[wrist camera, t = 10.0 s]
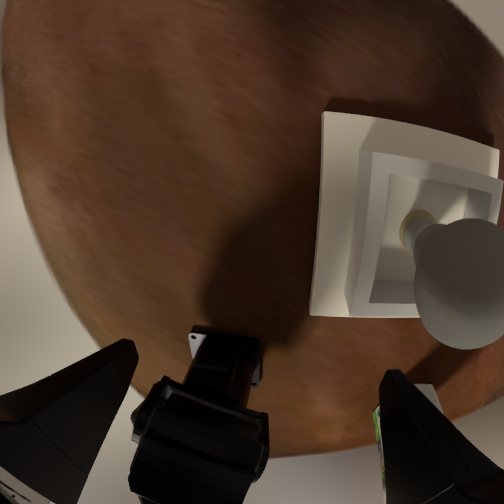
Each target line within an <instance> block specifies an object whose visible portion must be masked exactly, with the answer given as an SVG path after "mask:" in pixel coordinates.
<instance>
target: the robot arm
mask: <svg viewBox="0 0 504 504" xmlns="http://www.w3.org/2000/svg"><path fill="white" fill-rule="evenodd" d="M193 335H194V336H193ZM195 336H196V337H195ZM188 337H189V342H190V347H191V353H192V358H193V361H192V363H191V365H190V367H189V369H188V371H187V374H186V376H185V378H184V380H183V382H182V384H180V383H178V382H176V381H174V380H171V378H169V377H167V376H165V375H164V376H163V378H162V379H161V381H160V382H159V381H158V382H157V384H154V385H153V387H152V388H151V390H150V392H149V394H148V396H147V397H146V398H145V400H144V401H143V402H142V403H141V404H140V405H139V406H138V407H137V408H136V409H135V410H134V411H133V413H132V415H131V421H132V423H133V434H132V441H134V442H136V443H138V447H137V450H136V453H135V455H134V458H133V461H132V463H131V466H130V474H129V477H128V482H129V486H130V490H131V492H132V493H134V494H136V495H138V497H139V500H140V502H141V504H242V503H243V501H244V498H245V496H246V493H247V491H248V489H249V487H250V485H251V483H254V482H256V481H257V480H258V479H259V478H260V476H261V475H262V473H263V471H264V469H265V467H266V464H267V461H268V457H269V448H270V446H269V421H268V414H267V413H264V412H261V413H260V412H257V411H254V410H250V409H247V403H248V399H249V394H250V389H251V387H258V386H259V382H260V347H261V342H260V340H259V339H257V338H252V337H242V336H233V335H225V334H217V333H209V332H202V331H195V330H192V331H191V332H190V333H189V336H188ZM253 343H256V344H253ZM138 360H139V356H138V353H137V350H136V346H135V343H134V342H133V341H132V340H129V339H125V338H123V339H121V340H119V341H117V342H115V343H113V344H111V345H109V346H107V347H105V348H103V349H101V350H99V351H97V352H95V353H93V354H91V355H90V356H88V357H86V358H84V359H82V360H80V361H78V362H76V363H74V364H72V365H70V366H68V367H66V368H64V369H62V370H60V371H58V372H56V373H54V374H52V375H51V376H48V377H46V378H44V379H41V380H39V381H37V382H35V383H33V384H31V385H28V386H25V387H23V388H20V389H17V390H15V391H12V392H9V393H6V394H3V395H0V504H49V503H50V501H52V502H54V503H55V504H77V502H78V499H79V497H80V495H81V492H82V490H83V487H84V485H85V482H86V480H87V478H88V475H89V473H90V470H91V468H92V466H93V464H94V461H95V459H96V457H97V455H98V452H99V450H100V447H101V446H102V444H103V441H104V439H105V437H106V435H107V432H108V431H109V429H110V426H111V424H112V422H113V420H114V418H115V416H116V414H117V412H118V410H119V407H120V406H121V404H122V401H123V400H124V397H125V395H126V393H127V391H128V388H129V385H130V383H131V380H132V377H133V374H134V372H135V369H136V366H137V364H138ZM379 405H380V431H381V439H382V448H383V459H384V470H385V486H386V504H504V470H503V469H501V468H500V467H498V466H497V465H496V464H495V463H494V462H492V461H491V460H490V459H489V458H488V457H486V456H485V455H484V454H483V453H482V452H481V451H479V450H478V449H477V448H476V447H475V446H474V445H473V444H472V443H471V442H470V441H469V440H468V439H466V437H465V436H464V435H463V434H462V433H461V432H460V431H459V430H458V429H457V430H456V427H455V426H454V425H453V424H452V423H451V422H450V421H449V420H448V419H447V418H446V417H445V416H444V414H443V413H442V412H441V411H440V410H439V409H438V408H437V407H436V406H435V405H434V404H433V403H432V402H431V401H430V400H429V399H428V398H427V397H426V396H425V395H424V394H423V393H422V392H421V391H420V390H419V389H418V388H417V387H416V386H415V385H414V384H413V383H412V382H411V381H410V380H409V379H408V378H407V377H406V376H405V375H404V374H403V373H402V371H401V370H399V369H388V370H387V371H386V373H385V375H384V377H383V379H382V381H381V383H380V386H379Z"/></svg>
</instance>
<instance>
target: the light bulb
mask: <svg viewBox="0 0 504 504" xmlns="http://www.w3.org/2000/svg"><path fill="white" fill-rule="evenodd" d="M403 244H404V246H405V248H406V249H407V250H408V252H409V253H410V254H411V255H412V256H413V259H414V264H415V266H416V271H415V277H414V297H415V302H416V307H417V311H418V314H419V316H420V318H421V321H422V323H423V324H424V326H425V328H426V330H427V331H428V332H429V333H430V334H431V335H432V336H433V337H434V338H435V339H437V340H438V341H440V342H442V343H443V344H445V345H447V346H450V347H453V348H458V349H477V348H480V347H484V346H486V345H489V344H491V343H493V342H494V341H496V340H497V339H499V338H500V337H501V336H502V335H503V334H504V230H503V229H502V228H501V227H499V226H498V225H496V224H494V223H492V222H489V221H486V220H483V219H478V218H464V219H460V220H456V221H454V222H452V223H449V224H447V225H446V224H435V223H434V222H433V221H431V220H430V219H428V218H426V217H418V218H415V219H413V220H412V221H410V222H409V223H408V224H407V226H406V227H405V229H404V232H403Z"/></svg>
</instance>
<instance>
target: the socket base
mask: <svg viewBox="0 0 504 504" xmlns="http://www.w3.org/2000/svg"><path fill="white" fill-rule="evenodd" d="M498 165H499V150H497V149H495V148H492V147H490V146H487V145H484V144H481V143H478V142H475V141H472V140H469V139H466V138H463V137H460V136H457V135H453V134H450V133H446V132H443V131H439V130H435V129H431V128H427V127H423V126H418V125H414V124H409V123H404V122H399V121H394V120H389V119H383V118H377V117H370V116H363V115H355V114H347V113H338V112H327V111H324V112H323V113H322V136H321V170H320V191H319V208H318V222H317V235H316V246H315V257H314V267H313V277H312V285H311V294H310V302H309V310H310V315H313V316H336V317H379V318H404V317H420V316H419V314H418V311H417V307H416V302H415V297H414V277H415V271H416V266H415V264H414V259H413V256H412V255H411V254H410V253H409V252H408V250H407V249H406V248H405V246H404V244H403V232H404V229H405V227H406V226H407V224H408V223H409V222H410V221H412V220H413V219H415V218H418V217H426V218H428V219H430V220H431V221H433V222H434V223H435V224H446V225H447V224H449V223H452V222H454V221H456V220H460V219H464V218H478V219H483V220H486V221H489V222H492V223H494V224H496V225H497V220H498V215H499V209H500V203H501V196H502V188H503V180H500V179H497V177H498Z"/></svg>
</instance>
